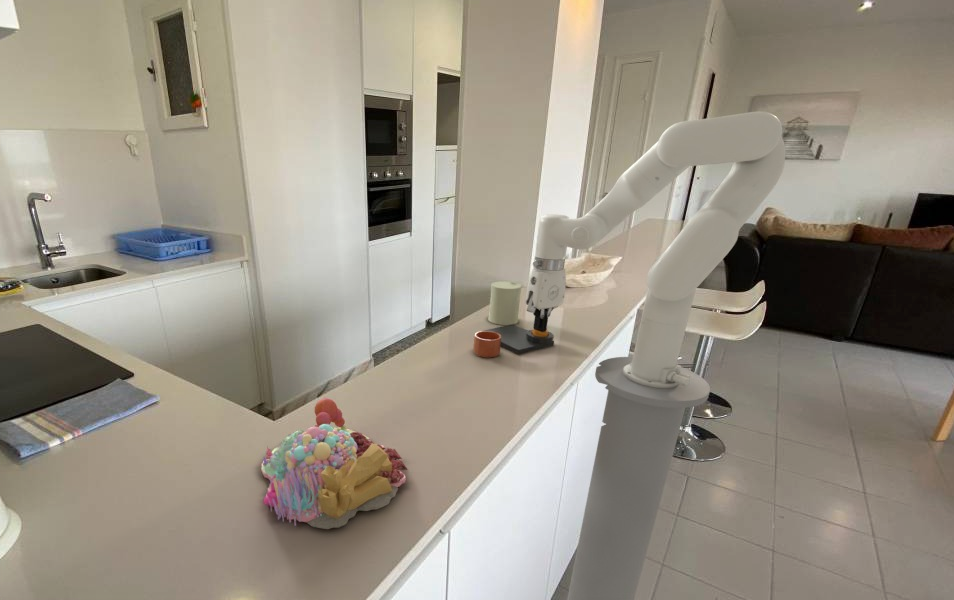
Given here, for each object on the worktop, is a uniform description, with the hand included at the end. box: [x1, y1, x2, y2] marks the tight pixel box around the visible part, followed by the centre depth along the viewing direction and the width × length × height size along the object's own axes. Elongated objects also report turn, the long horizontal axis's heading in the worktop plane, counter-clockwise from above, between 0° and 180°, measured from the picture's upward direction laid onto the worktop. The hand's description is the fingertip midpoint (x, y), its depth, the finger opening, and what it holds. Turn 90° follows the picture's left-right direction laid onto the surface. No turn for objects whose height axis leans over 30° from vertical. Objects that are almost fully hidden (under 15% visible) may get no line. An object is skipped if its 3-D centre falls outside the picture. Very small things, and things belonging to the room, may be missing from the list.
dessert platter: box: [260, 397, 408, 530], centre depth 77 cm, size 25×24×9 cm
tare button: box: [532, 328, 549, 337], centre depth 131 cm, size 4×4×2 cm
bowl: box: [472, 330, 501, 358], centre depth 125 cm, size 7×7×5 cm
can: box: [487, 280, 523, 326], centre depth 149 cm, size 9×9×12 cm
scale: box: [478, 324, 555, 356], centre depth 134 cm, size 16×14×3 cm
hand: (539, 329), depth 131 cm, fingers closed
